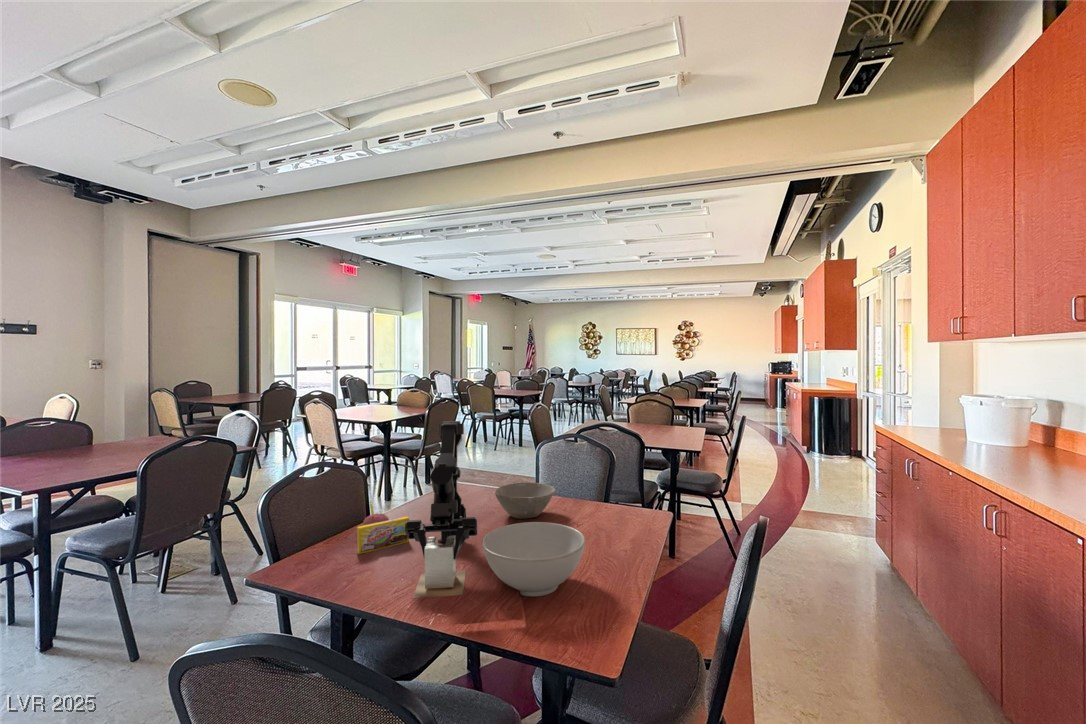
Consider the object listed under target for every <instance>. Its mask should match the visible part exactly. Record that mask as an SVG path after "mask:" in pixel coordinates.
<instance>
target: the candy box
mask: <svg viewBox="0 0 1086 724" xmlns="http://www.w3.org/2000/svg"><path fill="white" fill-rule="evenodd" d="M408 520H410V517H408V516H403V517H399V518H394V519H389V520H388V521H383V522H378V523H373V524H369V525H364V526H363V525H361V526H357V527H356V529H357V531H356V532H357V533H356V534H357V535H356V537H357V540H356V542H357V543H356V553H357V554H358V555H363V554H366V553H369V552H375V551H377V550H383V549H386V548H390V547H394V546H398V545H403V544H405V543H410V539H408V538H407V536H406V532H405V524H406V522H407V521H408Z"/></svg>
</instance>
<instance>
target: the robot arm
mask: <svg viewBox="0 0 1086 724" xmlns="http://www.w3.org/2000/svg"><path fill="white" fill-rule="evenodd" d="M464 434H465V424H464V423H461V420H454V421H451V420H449V421H448V420H447V421H446V420H445V421H442V423H441V424H439V423H438V424H437V435H438V436H440V441H441V442H440V443H441V444H440V453H439V456H438V457H437V458H436V460H435V461H434V467H433V468H432V469H431V472H430V475H429V480H430V482H431V487H432V488H431V489H432V492H433V502H432V503H431V504H430V518H429V521H430V522H431V524H430V523H429V524H424V523H423V522H422V520H421V519H411V520H410V519H409V520H408V521H407V522H406V524H405V532H406V536H407V538H408V539H409V540H414V541H415V542H418V543H419V544H420V547H421V550H422V556H423V560H424V561H425V557H424V548H425V546H426V543H427V540H428V537H427V535H426V534H427V533H435V532H437V533H439V532H440V535H441V537H440V539H438V540H437V542H438V543H443V544H446V541H447V537H448V536H455V548H454V560H455V559H456V560H457V556H458V554H459V552H460V549H461V547H462V546H463V544H464V542H465V540H468V539H470V537H473V536H474V537H475V536H478V519H477V518H476V517H475V516H470V517H467V508H466V507H465V504H464V503H463V498H462V496H461V495H460V494H459V492H458V480H459V479H460V478H461V474H462V470H461V469H460V467H458V448H459V446H460V444H461V443H462V441H463V435H464Z"/></svg>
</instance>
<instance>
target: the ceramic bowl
mask: <svg viewBox="0 0 1086 724" xmlns="http://www.w3.org/2000/svg"><path fill="white" fill-rule="evenodd" d="M555 492H556V488H555V487H554V486H553V485H550V484H546V483H540V482H514V483H513V482H512V483H508V484H504V485H501V486H499V487H497V488H496V489H495V490H494V495H495V497H496V500H497V501H498V503H499V504H500V506H501V508H503V510H504V511H505V512H506V513H507V514H508V515H509V516H511V517H512V518H514V519H522V520H523V519H532V518H537V517H538V516H539V515H541V514H542V513H543V511H544V510H545V509H546V507H547V506H548V504H549V503H550V501H551V499H552V497H553V495H554V493H555Z"/></svg>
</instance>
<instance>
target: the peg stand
mask: <svg viewBox="0 0 1086 724" xmlns="http://www.w3.org/2000/svg"><path fill="white" fill-rule="evenodd" d="M466 572H467V571H466V570H456V575H455V581H454V587H445V588H430V589H425V572H421V573H420V576H419V579H418V582H417V584H416V588H415V591H414V593H413V596H412V599H424V598H436V597H437V598H440V597H452V596H453V597H455V596H463V594H464V588H465V581H466V580H465V579H466Z"/></svg>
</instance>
